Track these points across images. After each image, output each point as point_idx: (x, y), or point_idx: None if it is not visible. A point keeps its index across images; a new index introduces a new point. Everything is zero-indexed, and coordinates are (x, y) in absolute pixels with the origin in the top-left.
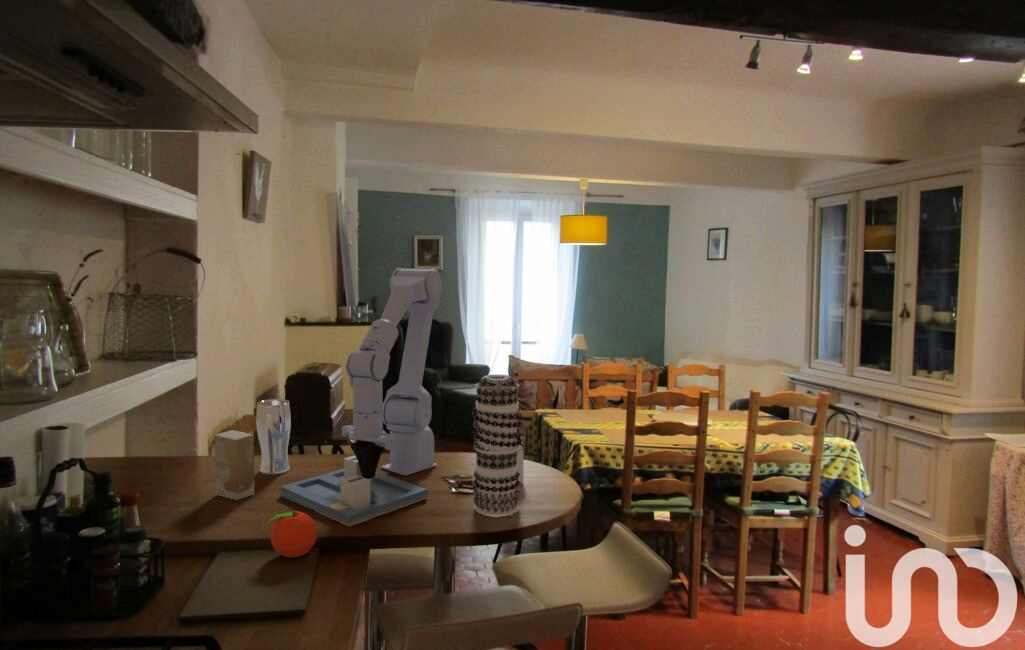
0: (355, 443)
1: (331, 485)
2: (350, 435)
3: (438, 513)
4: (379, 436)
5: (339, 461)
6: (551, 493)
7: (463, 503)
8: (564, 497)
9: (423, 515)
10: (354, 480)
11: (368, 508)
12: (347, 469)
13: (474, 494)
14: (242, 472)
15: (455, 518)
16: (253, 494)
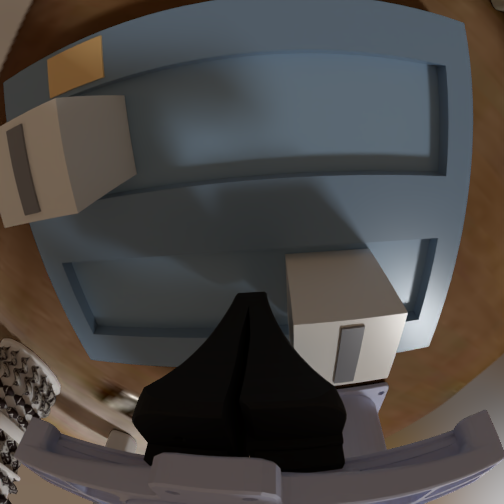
0: (322, 428)
1: (355, 173)
2: (253, 498)
3: (25, 301)
4: (109, 499)
5: (501, 327)
6: (69, 428)
7: (59, 360)
8: (53, 423)
9: (22, 274)
10: (11, 160)
11: None
12: (363, 282)
13: (5, 366)
14: None
15: (2, 304)
16: (493, 4)
